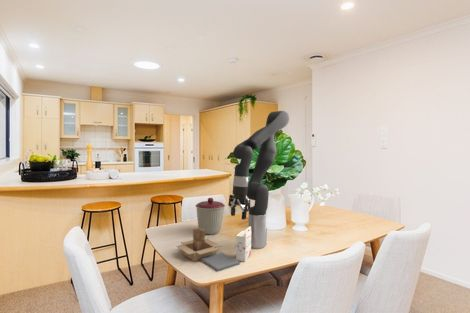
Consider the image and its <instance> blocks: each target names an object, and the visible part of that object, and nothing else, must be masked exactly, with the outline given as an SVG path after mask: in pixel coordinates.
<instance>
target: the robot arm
mask: <svg viewBox="0 0 470 313" xmlns="http://www.w3.org/2000/svg"><path fill="white" fill-rule="evenodd" d="M289 123H290V115H289V113H288V112H287V111H284V110H276V111H271V112H270V113H269V114H268V115H267V118H266V122H265V126H263V127H261V128H260V129H258V130H256V131H255V132H253V134H251V135H250V136H249V137H248V138H247V139H245V140H243V141H242V142H240V143H239V144H238V143H237V145H235V147H234V148H233V152H232V155H233V156H234V158H235V159H237V160H240V161H239V163H238V164H236V165H235V166H234V175H233V176H234V177H233V182H232V194H229V195H228V196H229V198H228V207H230V216H231V217H234V216H236V210H237V209H236V207H237V206H239V208H240V209H241V210H242V212H241V220H246V219H247V214H248V223H247V226H248V227H250V226H251V249H252V248H253V249H262V248H265V247H266V246H267V239H268V237H267V236H268V228H267V227H266V226H267V225H266V224H267V210H268V208H269V207H268V206H269V195H270V194H269V188H268V186H267V185H266V184H262V180H263V178H264V175H265V174H266V173H267V172H268V171H269V169H270V168H271V167H272V165H273V164H274V163H275V160H276V159H275V158H276V155H277V144H276V142H275V134H276V133H277V132H279V131H280V130H282V129H284V128H285V127H287V125H288V124H289ZM259 147H260V148H259ZM258 149H259V152H258V154H257V158H256V162H255V164H254V168H253V172H252V174H251V176H250V180H249V173H250V172H249V170H250V166H251V164H252V160H253V157H254V151H255V150H258ZM251 200H252V201H254V204H253V206H251ZM247 212H248V213H247ZM248 227H247V228H248ZM248 231H249V230H248Z"/></svg>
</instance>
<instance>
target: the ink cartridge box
mask: <svg viewBox="0 0 470 313" xmlns="http://www.w3.org/2000/svg"><path fill="white" fill-rule="evenodd" d="M248 230H249V231H248ZM235 243H236V244H235V260H237V261H239V262H244V263H245V262H247V261H248V259H249V258H250V257H251V256H252V247H251V226H250V227H247V228H246V229H245V230H242V231H240V232H239V233H238V234H237V235H236V236H235Z"/></svg>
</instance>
